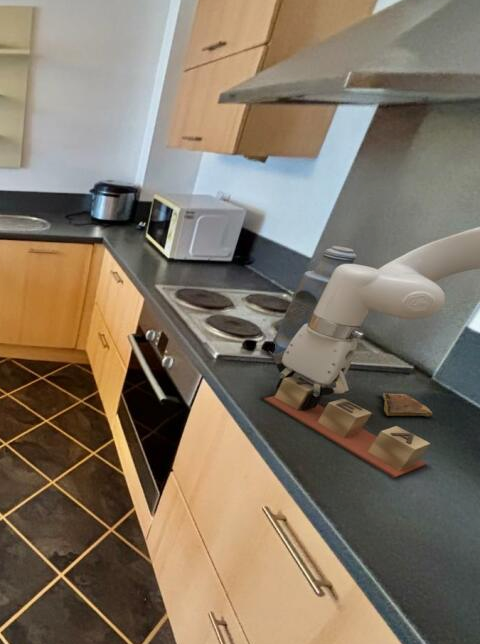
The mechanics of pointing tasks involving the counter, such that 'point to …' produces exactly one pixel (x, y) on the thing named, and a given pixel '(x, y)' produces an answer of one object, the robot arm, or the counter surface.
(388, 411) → the shard
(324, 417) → the letter E
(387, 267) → the robot arm
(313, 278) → the bottle
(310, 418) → the word mat
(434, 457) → the counter surface
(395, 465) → the letter A
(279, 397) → the letter T
